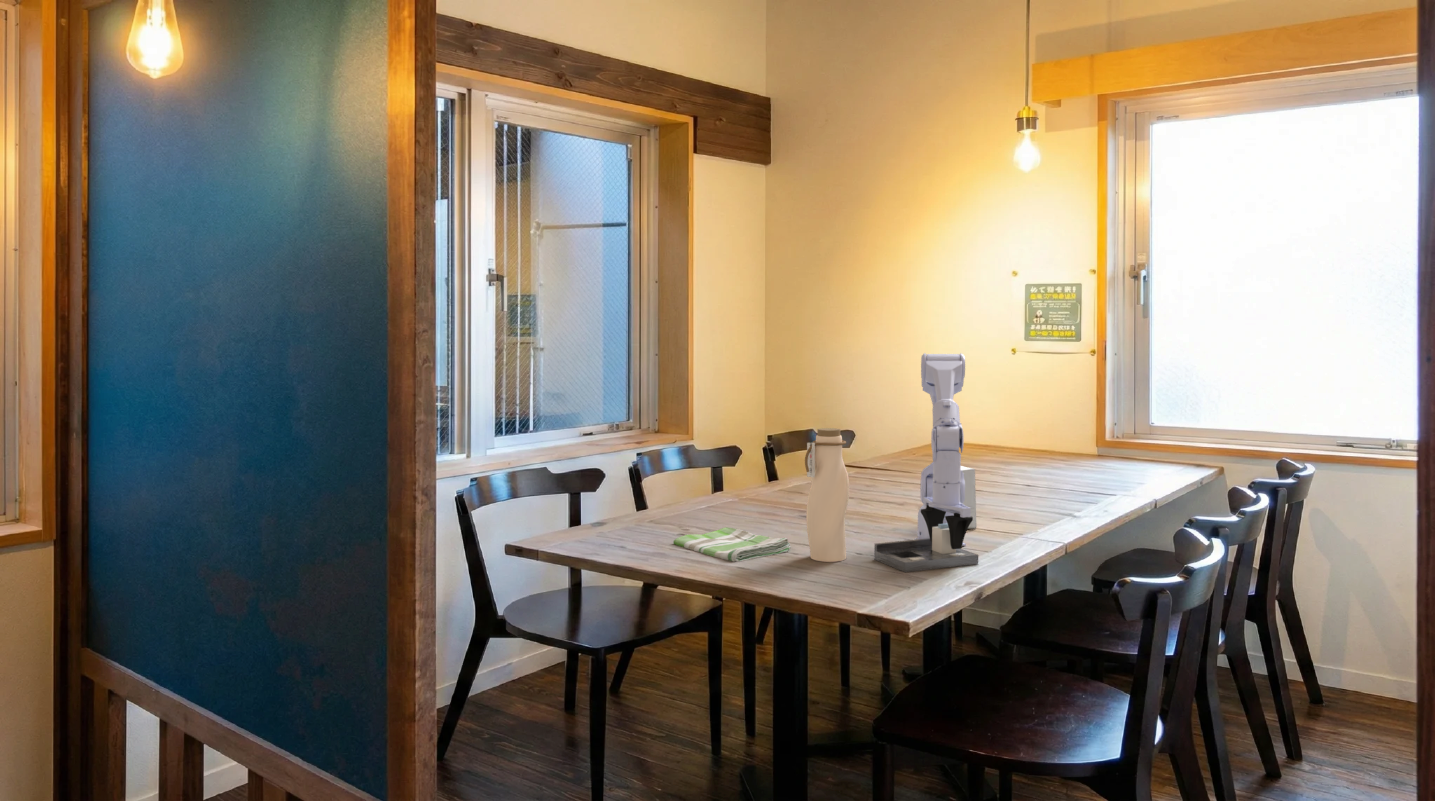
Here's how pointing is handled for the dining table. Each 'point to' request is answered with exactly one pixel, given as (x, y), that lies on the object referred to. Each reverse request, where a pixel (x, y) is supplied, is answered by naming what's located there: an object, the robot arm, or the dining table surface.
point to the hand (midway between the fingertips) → (945, 544)
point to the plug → (941, 539)
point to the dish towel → (733, 544)
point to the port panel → (920, 556)
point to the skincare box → (970, 493)
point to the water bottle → (827, 496)
